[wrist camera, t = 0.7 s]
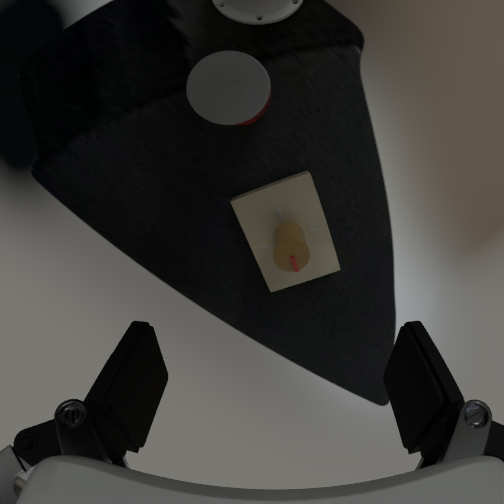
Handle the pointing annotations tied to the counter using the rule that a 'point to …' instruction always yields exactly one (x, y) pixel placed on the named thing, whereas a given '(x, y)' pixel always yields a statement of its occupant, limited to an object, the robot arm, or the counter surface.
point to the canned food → (229, 88)
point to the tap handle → (290, 247)
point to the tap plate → (286, 211)
